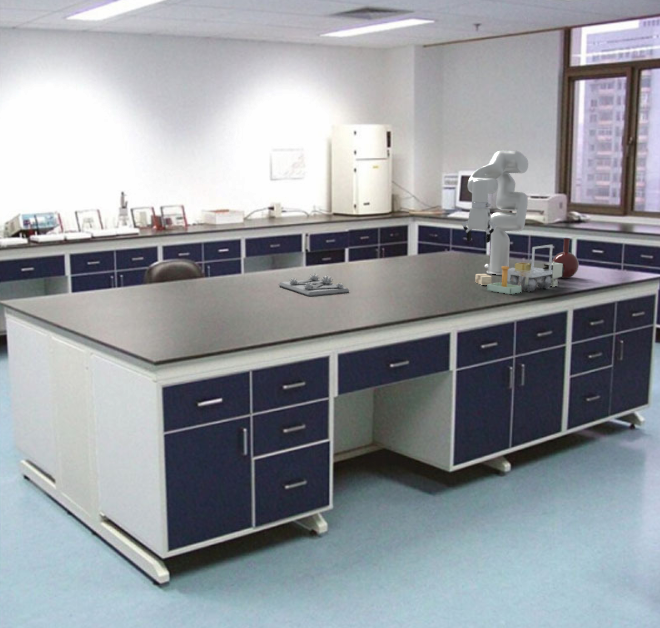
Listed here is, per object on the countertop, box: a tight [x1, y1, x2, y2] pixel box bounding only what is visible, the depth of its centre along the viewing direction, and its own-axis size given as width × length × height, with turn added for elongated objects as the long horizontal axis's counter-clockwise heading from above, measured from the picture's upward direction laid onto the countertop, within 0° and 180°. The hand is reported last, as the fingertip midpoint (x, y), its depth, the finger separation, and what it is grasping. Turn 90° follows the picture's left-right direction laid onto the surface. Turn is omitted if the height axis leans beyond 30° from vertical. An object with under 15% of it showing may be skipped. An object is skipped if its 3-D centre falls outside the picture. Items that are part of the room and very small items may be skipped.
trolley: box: [507, 244, 554, 293], centre depth 411 cm, size 17×16×21 cm
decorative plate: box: [278, 273, 350, 297], centre depth 405 cm, size 30×22×7 cm
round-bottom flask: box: [552, 237, 580, 279], centre depth 441 cm, size 13×13×20 cm
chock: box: [474, 273, 493, 286], centre depth 423 cm, size 8×5×4 cm, turn 13°
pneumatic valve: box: [542, 261, 564, 288], centre depth 418 cm, size 6×12×12 cm, turn 131°
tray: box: [486, 281, 523, 295], centre depth 404 cm, size 13×8×3 cm, turn 42°
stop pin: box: [501, 266, 510, 287], centre depth 403 cm, size 3×3×11 cm
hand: (478, 241), depth 420 cm, fingers open, 9 cm apart
